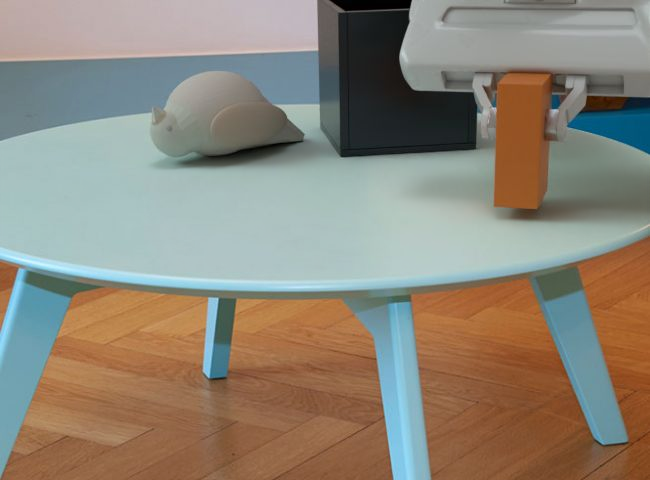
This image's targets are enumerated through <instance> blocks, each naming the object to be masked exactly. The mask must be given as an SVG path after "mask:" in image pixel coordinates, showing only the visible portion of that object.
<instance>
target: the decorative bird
mask: <svg viewBox="0 0 650 480" xmlns="http://www.w3.org/2000/svg"><path fill="white" fill-rule="evenodd" d="M149 135H150V139H151V141H152V143H153V145H154V146H155V148H156V149H157V150H158V151H159V152H161V153H162V154H163V155H166V156H168V157H172V158H182V157H185V156H187V155H188V154H191V153H195V154H199V155H202V156H209V157H210V156H212V157H213V156H225V155H229V154H232V153H236V152H238V151H241V150H247V149H252V148H253V149H254V148H258V147H263V146H269V145H270V146H271V145H275V144H281V143H293V142H302V141H304V138H305V135H306V134H305V133H304V132H303V131H302V130H301V129H300V128H299V127H298V126H297V125H296V124H295V123H293V122H292V121H291V119H289V118H288V115H287V113H286V112H285V111H284V110H283V109H282V108H281V107H279V106H277V105H275V104H273V103H272V102H271V101H269V100H268V99H267V98H266V97H265V96H264V95H263V93H262V91H261V90H260V88H258V86H257V85H255V83H253V82H252V81H251V80H249V79H248V78H247V77H244V76H242V75H240V74H238V73H235V72H231V71H227V70H209V71H203V72H200V73H197V74H194V75H192V76H189V77H188V78H186V79H185V80H183V81H182V82H180V83H179V84H178V85H177V86H176V87H175V88H174V89H173V90H172V92H171V93H170V95H169V97H168V98H167V101H166V103H165V106H164V107H163V109H162V108H159V107H158V106H155V105H151V122H150V125H149Z"/></svg>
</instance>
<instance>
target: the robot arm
mask: <svg viewBox="0 0 650 480" xmlns="http://www.w3.org/2000/svg"><path fill="white" fill-rule="evenodd" d="M409 22H410V23H409V25H408V28H407V31H406V34H405V37H404V40H403V43H402V47H401V50H400V56H399V59H400V66H401V70H402V73H403V76H404V78H405V80H406V81H407V83H408V84H409V85H410V87H411V88H412V89H414V90H419V91H451V92H474V97H475V101H476V104H477V109H478V110H479V112H480V114H481V119H480V133H481V138H482V139H492V140H493V139H495V140H496V109H497V106H493V105H492V103H493V102H495V97H496V94H497V83H498V82H499V81H500V80H501V79H502V78H503V77H504V76H505V75H506V74H507V73H541V74H553V79H552V95H553V96H554V95H555V96H556V95H557V96H559V95H560V96H565V99H563V101H562V102H561V103H560V104H559V106H558V107H557V108H555V109H554V108H553V109H552V108H551V109H547V110H546V117H545V119H546V121H545V123H544V136H545V137H544V138H545V141H550V142H561V143H562V142H563V143H564V142H565V141H566V136H567V128H568V124H570V123H571V122H572V121H573V120H574V119H575V118H576V116H578V114H579V113H580V112H581V111H582V110H583V109H584V107H586V104H587V97H588V96H589V97H590V96H591V97H619V98H620V97H623V98H624V97H625V98H626V97H627V98H650V0H412V3H411V7H410V12H409Z"/></svg>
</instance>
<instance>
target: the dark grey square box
mask: <svg viewBox="0 0 650 480" xmlns="http://www.w3.org/2000/svg"><path fill="white" fill-rule="evenodd" d="M411 3H412V0H316V9H317V13H316V14H317V48H318V49H317V50H318V51H317V52H318V55H317V56H318V57H317V58H318V94H319V95H318V96H319V128H320V129H321V131H322V132H323V134H324V135H325V136H326V137H327V140H329V142H330V143H331V145H332V147H333V148H334V149H335V151H336V152H337V153H338V155H339V156H340V157H342V158H343V157H359V156H361V157H362V156H375V155H376V156H377V155H378V156H379V155H390V154H391V155H393V154H396V155H397V154H410V153H411V154H412V153H428V152H446V151H463V150H476V149H477V139H478V138H477V137H478V136H477V135H478V133H477V132H478V106H477V104H476V101H475V97H474V92H451V91H419V90H414V89H412V88H411V87H410V85H409V84H408V83H407V81H406V80H405V78H404V76H403V73H402V70H401V66H400V59H399V56H400V50H401V47H402V43H403V40H404V37H405V34H406V31H407V28H408V25H409V23H410V22H409V12H410V7H411Z"/></svg>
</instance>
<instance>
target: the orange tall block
mask: <svg viewBox="0 0 650 480" xmlns="http://www.w3.org/2000/svg"><path fill="white" fill-rule="evenodd" d="M552 79H553V74H541V73H507V74H506V75H505V76H504V77H503V78H502V79H501V80H500V81H499V82H498V83H497V93H496V107H497V109H496V139H495V144H494V145H495V146H494V147H495V148H494V150H495V151H494V181H493V182H494V184H493V207H494V208H506V209H507V208H510V209H525V210H526V209H527V210H538V209H539V207H540V206H541V203H542V201H543V199H544V197H545V196H546V194H547V192H548V186H549V185H548V182H549V160H550V143H551V141H545V138H544V137H545V136H544V123H545V121H546V119H545V117H546V110H547V109H552V97H553V96H552V95H553V94H552Z"/></svg>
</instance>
